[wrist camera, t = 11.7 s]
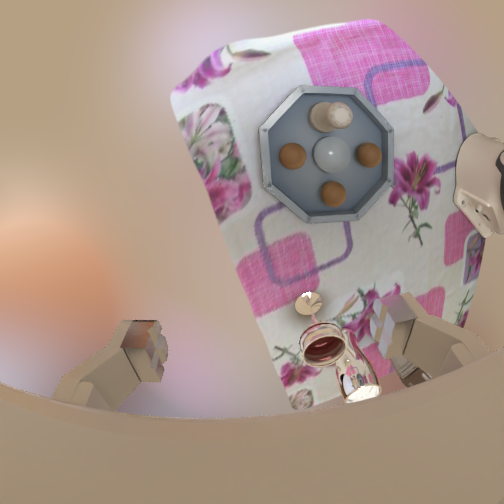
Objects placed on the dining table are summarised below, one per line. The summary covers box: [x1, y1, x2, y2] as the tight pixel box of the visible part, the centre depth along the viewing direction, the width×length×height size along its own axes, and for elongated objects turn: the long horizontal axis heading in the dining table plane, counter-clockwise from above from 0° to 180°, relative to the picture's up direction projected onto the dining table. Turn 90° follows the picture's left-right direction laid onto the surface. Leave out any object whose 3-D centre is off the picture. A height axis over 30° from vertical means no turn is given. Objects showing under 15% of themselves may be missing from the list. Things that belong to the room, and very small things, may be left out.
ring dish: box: [259, 86, 394, 224], centre depth 35 cm, size 19×19×3 cm
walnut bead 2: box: [321, 181, 346, 207], centre depth 37 cm, size 4×4×4 cm
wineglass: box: [295, 292, 347, 367], centre depth 42 cm, size 7×7×12 cm
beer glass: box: [335, 328, 382, 404], centre depth 45 cm, size 7×7×15 cm
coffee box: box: [390, 355, 433, 387], centre depth 44 cm, size 9×6×16 cm
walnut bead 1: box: [279, 143, 307, 170], centre depth 34 cm, size 4×4×4 cm
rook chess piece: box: [308, 102, 353, 133], centre depth 30 cm, size 4×4×8 cm
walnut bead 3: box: [357, 142, 382, 168], centre depth 34 cm, size 4×4×4 cm
